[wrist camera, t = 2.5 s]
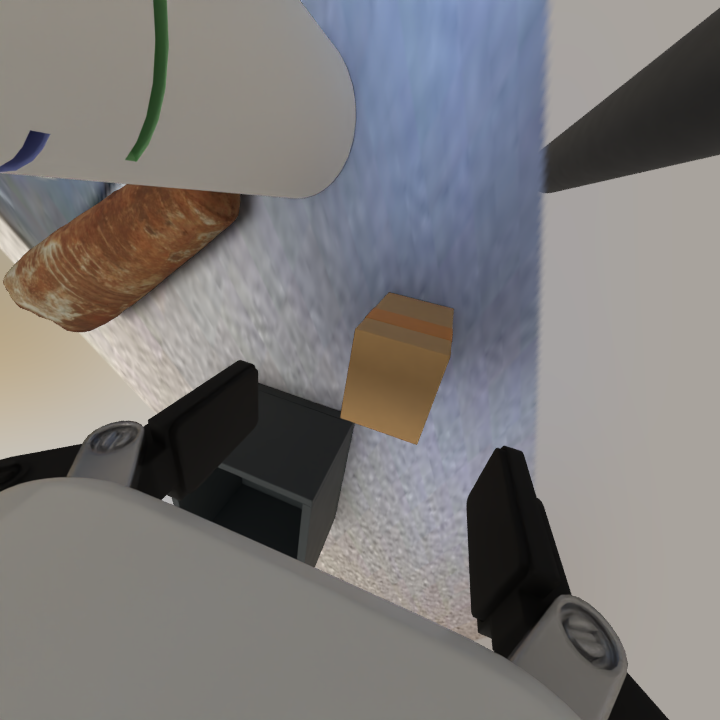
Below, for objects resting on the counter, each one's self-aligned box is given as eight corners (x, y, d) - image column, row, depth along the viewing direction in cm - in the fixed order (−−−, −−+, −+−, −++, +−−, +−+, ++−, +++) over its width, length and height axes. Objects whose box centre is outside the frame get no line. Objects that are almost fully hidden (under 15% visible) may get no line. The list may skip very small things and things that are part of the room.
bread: (73, 254, 24) (-22, 264, 19) (226, 133, 16) (128, 99, 11) (120, 322, 26) (44, 346, 21) (276, 245, 18) (211, 255, 13)
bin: (235, 375, 25) (153, 434, 18) (355, 417, 23) (312, 501, 16) (242, 479, 32) (185, 548, 25) (334, 518, 30) (298, 605, 23)
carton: (388, 291, 17) (354, 328, 12) (454, 308, 16) (451, 355, 11) (373, 361, 20) (339, 418, 14) (429, 378, 19) (417, 446, 14)
